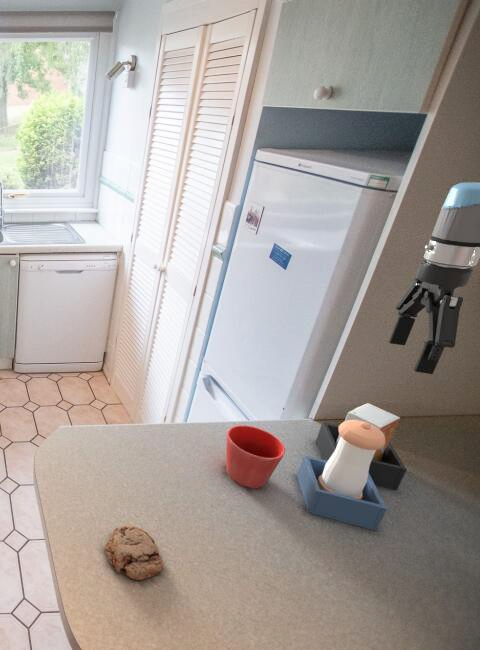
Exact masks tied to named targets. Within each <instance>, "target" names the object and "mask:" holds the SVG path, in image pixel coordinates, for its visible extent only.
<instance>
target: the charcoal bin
mask: <svg viewBox="0 0 480 650" xmlns="http://www.w3.org/2000/svg"><path fill="white" fill-rule="evenodd" d="M339 426H340V424H339V425H338V424H333V423H330V422H329V423H328V422H324V421H322V423H321V426H320V428H319V431H318V433H317V436H316V439H315V443H316V446H317V449H318V451H319V454H320V456H321V459H322V460H326V461H328V460H329V459H330V457H331V456H332V454H333V453H334V451H335V450H336V447H337V446H336V442H337V439H338V437H339ZM406 472H407V467H406V466H405V464H404V463H403V461H402V459H401V458H400V456H399V454H398V453H397V451H396V449H395V447H394V446H393V445H392V443H391V440H390V441H389V443H388V446H387V448H386V450H385V452H384V454H383V457H382V459H381V461H375V460H372V461H371V463H370V466H369V474H370V476H371V478H372V480H373V482H374V484H375V486H376V487H381V488H383V489H384V488H385V489H389V490H392V491H398V489H399V486H400V485H401V482H402V481H403V478H404V476H405V475H406Z"/></svg>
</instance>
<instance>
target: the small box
mask: <svg viewBox="0 0 480 650" xmlns="http://www.w3.org/2000/svg"><path fill="white" fill-rule="evenodd" d="M347 420H358V421H363V422H367V423H369V424H371V425H373V426H375V427H377V428H378V429H379V430H381V431H382V433H383V434H384V436H385V445H384V446H383V447H381V448H380V449H377V450H376V451H375V454H374V456H373V458H372V460H375V461H381V459H382V457H383V454H384V452H385V450H386V448H387V446H388V443H389V441H390V442H391V439H392V437H393V435H394V433H395V430H396V428H397V426H398V424H399V422H400V420H401V417H400V416H398V415H396V414H393V413H391V412H389V411H387V410H385V409H382V408H380V407H378V406H375V405H373V404H371V403H369V402H367V403H365V404H362V405H360V406H358V407H355V408H354V409H352V410H350V411H348V412H347V414H346V416H345V419H344V421H343V422H345V421H347ZM340 437H341V436H340V434H339V437H338V439H337V442H336V446H337V445H338V442H339V440H340Z"/></svg>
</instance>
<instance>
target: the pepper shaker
mask: <svg viewBox="0 0 480 650" xmlns="http://www.w3.org/2000/svg"><path fill="white" fill-rule="evenodd" d="M344 421H345V420H344ZM344 421H343V422H341V423H340V424H339V434H340V436H341V437H340V440H339V442H338V445H337V447H336V450H335V451H334V453H333V454H332V456H331V457H330V459H329V460H328V461H327V463H326V465H325V468H324V471H323V474H322V475H320V476H319V477H318V480H317V483H318V485H319V488H320V489H321V490H325V491H329V492H333V493H337V494H340V495H344V496H348V497H352V498H356V499H360V500H361V499H362V496H363V493H362V490H363V488H364V486H365V484H366V482H367V477H368V472H369V466H370V463H371V461H372V458H373V456H374V454H375V451H376V450H377V449H380V448H381V447H383V446H384V445H385V436H384V434H383V433H382V431H381V430H379V429H378V428H377V427H375V426H373V425H371V424H369V423H367V422H363V421H358V420H347V421H345V422H344Z"/></svg>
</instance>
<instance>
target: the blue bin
mask: <svg viewBox="0 0 480 650" xmlns="http://www.w3.org/2000/svg"><path fill="white" fill-rule="evenodd" d="M326 463H327V461H326V460H323V459H322V458H317V457H313V456H308V455H303V458H302V460H301V463H300V466H299V468H298V472H297V475H296V477H297V481H298V484H299V489H300V491H301V494H302V498H303V501H304V505H305V507H306V511H307V513H309V514H312V515H317V516H319V517H324V518H327V519H330V520H335V521H338V522H342V523H345V524H350V525H352V526H357V527H361V528H365V529H368V530H371V531H374V532H376V531H377V530H378V528H379V526H380V524H381V522H382V520H383V518H384V516H385V514H386V511H387V506H386V504H385V502H384V499H383V498H382V496H381V494H380V492H379V490H378V488H377V486H376V485H375V484H374V482H373V480H372V478H371V476H370V474H369V472H368V477H367V482H366V484H365V486H364V488H363V490H362V493H363V496H362V499H361V500H360V499H356V498H352V497H348V496H344V495H340V494H337V493H333V492H329V491H325V490H321V489H320V488H319V485H318V483H317V480H318V477H319V476H320V475H322V474H323V471H324V468H325V465H326Z"/></svg>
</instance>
